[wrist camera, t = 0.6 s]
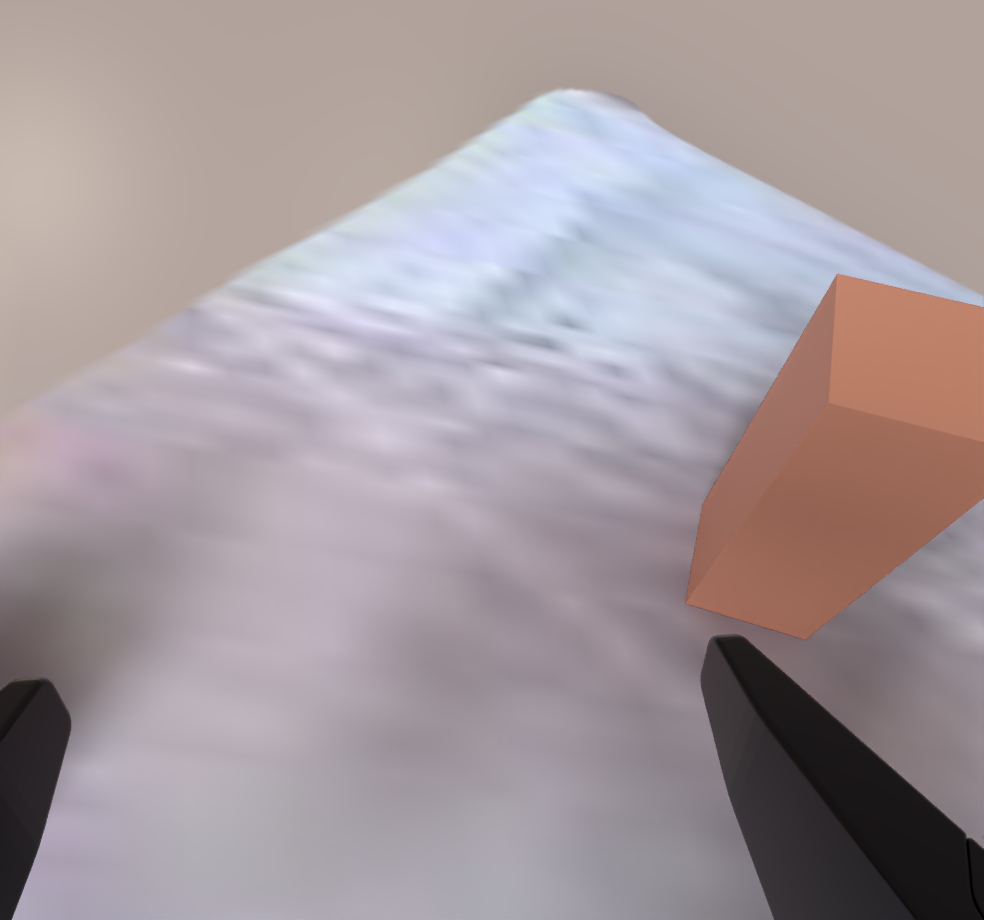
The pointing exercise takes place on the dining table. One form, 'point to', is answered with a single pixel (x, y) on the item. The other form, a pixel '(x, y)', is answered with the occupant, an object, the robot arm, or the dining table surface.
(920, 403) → the rust block
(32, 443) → the dining table surface
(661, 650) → the dining table surface
